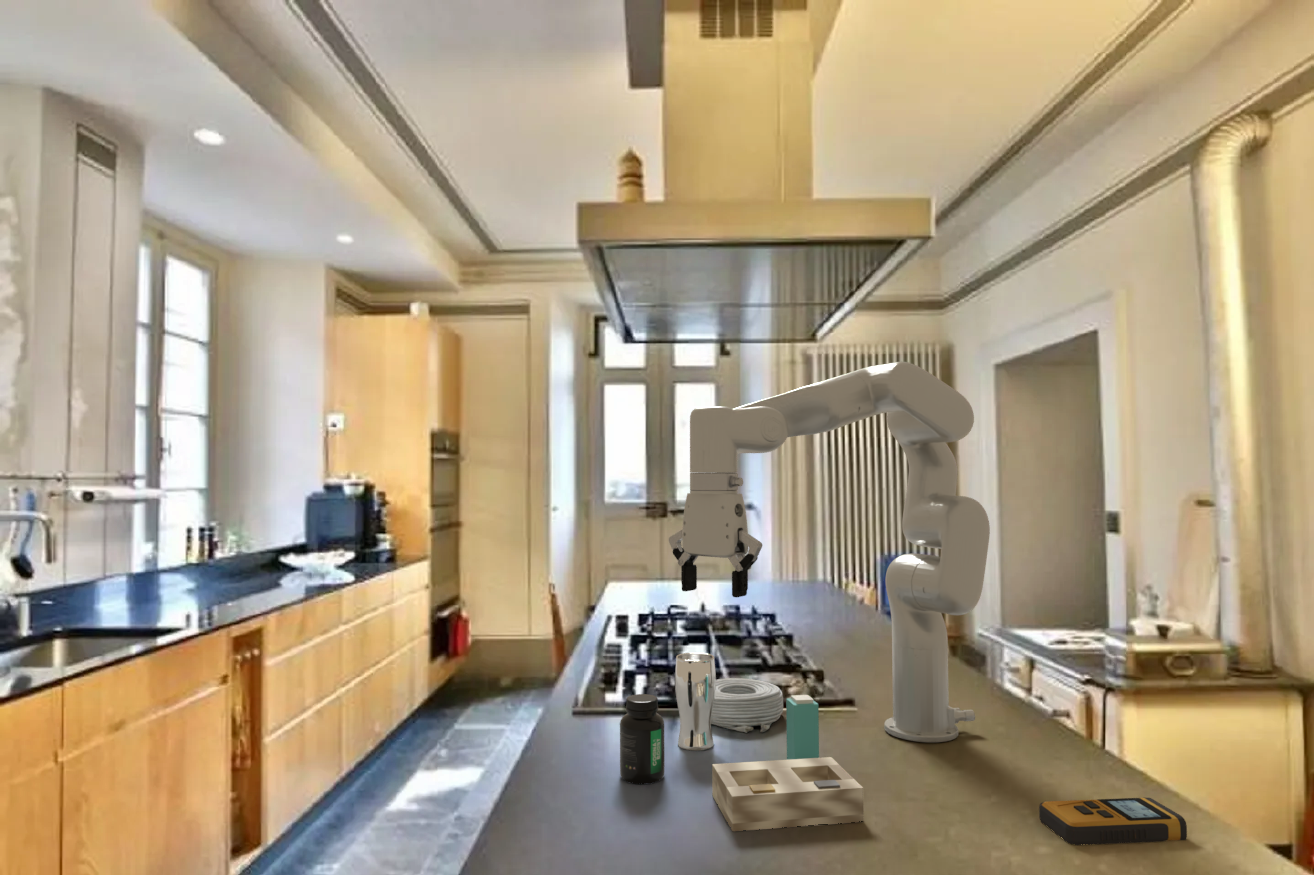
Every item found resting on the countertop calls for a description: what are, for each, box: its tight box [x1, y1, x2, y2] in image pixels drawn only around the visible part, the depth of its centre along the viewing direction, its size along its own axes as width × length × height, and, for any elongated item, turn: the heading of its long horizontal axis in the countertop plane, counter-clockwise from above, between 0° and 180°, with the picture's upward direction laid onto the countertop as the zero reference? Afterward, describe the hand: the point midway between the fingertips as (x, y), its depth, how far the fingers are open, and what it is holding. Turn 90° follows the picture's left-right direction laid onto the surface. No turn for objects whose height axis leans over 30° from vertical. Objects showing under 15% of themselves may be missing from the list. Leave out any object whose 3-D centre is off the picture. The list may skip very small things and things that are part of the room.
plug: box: [785, 694, 820, 760], centre depth 133 cm, size 4×4×11 cm
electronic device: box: [1038, 797, 1188, 846], centre depth 109 cm, size 8×16×3 cm, turn 95°
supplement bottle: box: [619, 693, 666, 785], centre depth 128 cm, size 7×7×12 cm
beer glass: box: [674, 652, 717, 752], centre depth 143 cm, size 7×7×15 cm
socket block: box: [711, 756, 865, 832], centre depth 116 cm, size 18×12×5 cm, turn 99°
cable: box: [711, 677, 784, 734], centre depth 159 cm, size 18×18×6 cm
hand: (713, 593), depth 131 cm, fingers open, 9 cm apart
